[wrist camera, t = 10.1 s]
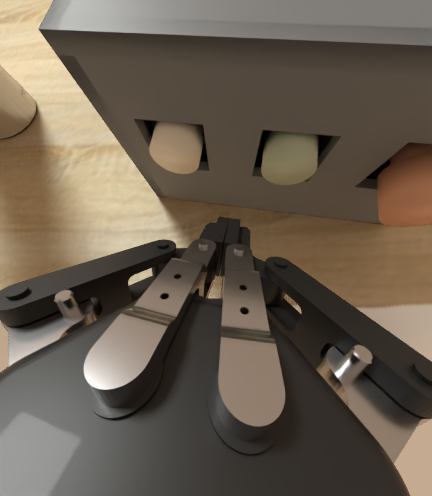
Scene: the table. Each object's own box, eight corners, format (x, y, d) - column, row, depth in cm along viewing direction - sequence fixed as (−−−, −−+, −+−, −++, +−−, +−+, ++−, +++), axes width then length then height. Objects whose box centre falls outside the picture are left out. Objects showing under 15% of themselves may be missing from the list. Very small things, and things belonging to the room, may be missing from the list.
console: (384, 224, 22) (767, 60, 6) (157, 196, 24) (38, 28, 9) (380, 152, 24) (659, -98, 9) (173, 134, 27) (100, -88, 11)
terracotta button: (418, 229, 15) (488, 206, 11) (365, 222, 15) (414, 198, 11) (412, 154, 16) (470, 110, 12) (363, 149, 17) (406, 106, 13)
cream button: (201, 176, 17) (194, 141, 13) (159, 171, 17) (140, 136, 13) (214, 114, 18) (211, 66, 14) (175, 111, 19) (162, 63, 15)
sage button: (303, 187, 16) (328, 153, 12) (257, 182, 16) (266, 148, 12) (307, 121, 18) (330, 73, 14) (265, 118, 18) (276, 70, 14)
